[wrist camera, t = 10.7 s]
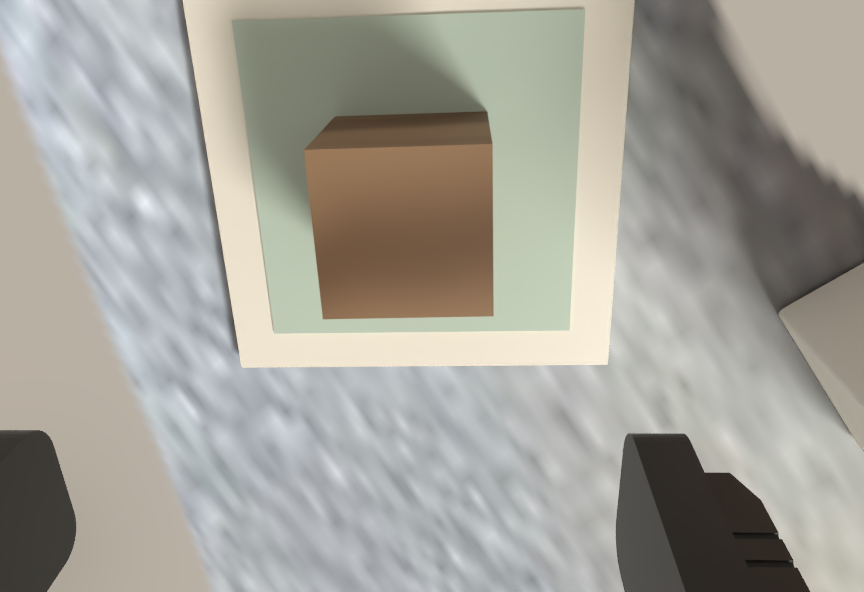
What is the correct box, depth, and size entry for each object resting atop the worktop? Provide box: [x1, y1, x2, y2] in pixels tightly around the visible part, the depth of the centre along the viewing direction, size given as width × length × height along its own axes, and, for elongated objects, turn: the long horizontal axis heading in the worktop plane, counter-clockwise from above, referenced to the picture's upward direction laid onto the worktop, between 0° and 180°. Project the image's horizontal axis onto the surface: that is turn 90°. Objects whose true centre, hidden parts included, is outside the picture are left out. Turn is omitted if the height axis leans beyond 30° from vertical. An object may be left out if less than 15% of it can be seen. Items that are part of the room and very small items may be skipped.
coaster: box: [183, 0, 635, 368], centre depth 25 cm, size 14×14×1 cm
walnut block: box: [304, 111, 494, 319], centre depth 22 cm, size 5×5×5 cm
